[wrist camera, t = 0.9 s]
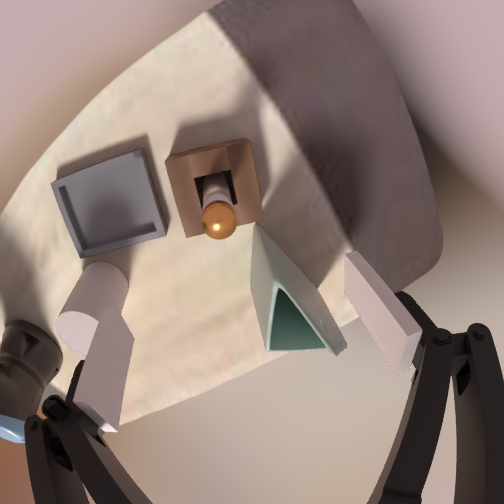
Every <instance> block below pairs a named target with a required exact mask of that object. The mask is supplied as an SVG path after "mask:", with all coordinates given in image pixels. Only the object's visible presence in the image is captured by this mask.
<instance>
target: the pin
mask: <svg viewBox="0 0 504 504" xmlns="http://www.w3.org/2000/svg"><path fill="white" fill-rule="evenodd" d="M202 226H203V230H204V232H205V233H206V234H207V235H208V236H209V237H211V238H213V239H225V238H227V237H229V236H231V235H232V234H233V233H234V231H235V229H236V226H237V220H236V216H235V212H234V208H233V204H232V200H231V196H230V192H229V188H228V184H227V180H226V178H225V176H224V175H223V174H222V173H220V172H217V173H213V174H209V175H207V176H206V177H205V179H204V189H203V215H202Z"/></svg>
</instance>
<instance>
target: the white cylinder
mask: <svg viewBox="0 0 504 504" xmlns="http://www.w3.org/2000/svg"><path fill="white" fill-rule="evenodd" d="M128 289H129V286H128V281H127V279H126V277H125V275H124V274H123V272H122V271H121V270H120V269H119V268H117V267H116V266H114V265H112V264H110V263H107V262H101V261H99V262H94V263H91V264H89V265H88V266H87V267H86V268H85V270H84V271H83V273H82V275H81V276H80V278H79V280H78V282H77V283H76V285H75V287H74V288H73V290H72V292H71V294H70V296H69V297H68V299H67V301H66V303H65V305H64V307H63V308H62V310H61V312H60V314H59V316H58V318H57V320H56V330H57V333H58V335H59V337H60V339H61V340H62V341H63V342H64V343H65V344H66V345H67V346H68V347H69V348H70V349H72V350H73V351H75V352H77V353H79V354H82V355H85V356H87V353H88V350H89V347H90V345H91V342H92V339H93V336H94V333H95V331H96V328H97V325H98V323H99V320H100V317H101V315H102V312H103V310H104V307H107V306H112V305H116V307H117V308H118V310H119V312H120V314H121V312H122V309H123V306H124V303H125V300H126V297H127V294H128Z"/></svg>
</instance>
